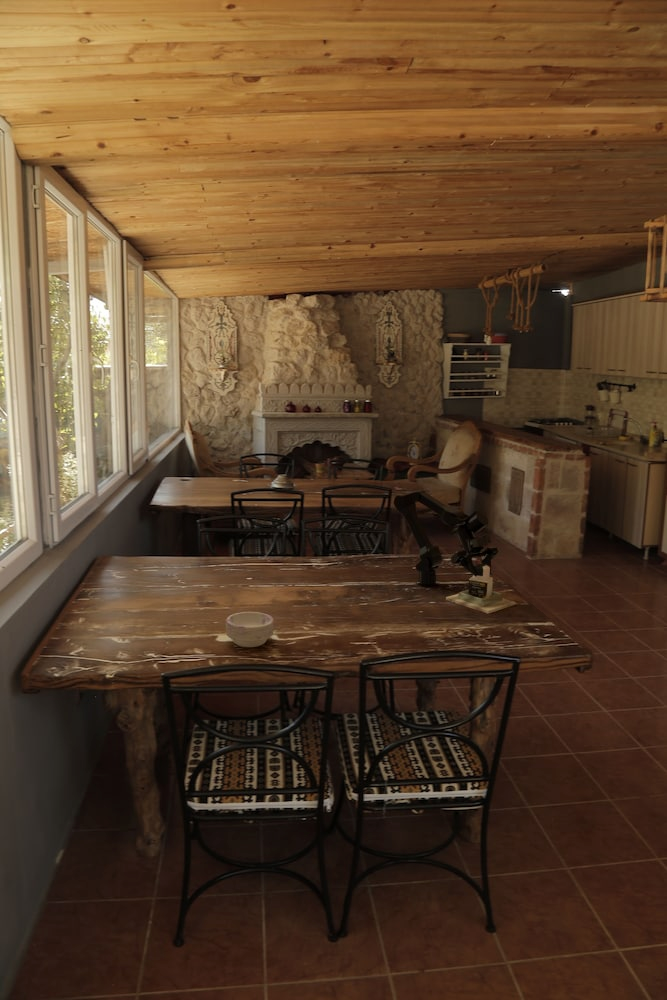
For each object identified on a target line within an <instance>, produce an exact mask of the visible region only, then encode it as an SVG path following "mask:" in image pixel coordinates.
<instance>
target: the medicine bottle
mask: <svg viewBox="0 0 667 1000" xmlns="http://www.w3.org/2000/svg"><path fill="white" fill-rule="evenodd" d="M474 567H475V569H476V572H477V576H474V575H473V574H472V577H471V576H470V578H469V579H468V589H467V590H468V595H471V596H474V597H477V598H481V599H485V598H488V597H490V596H491V595H492V591H493V583H494V582H493V577H492V576H490V575H491V574H490V567H489V566H487V565H484V564H482V563H478V564H474Z"/></svg>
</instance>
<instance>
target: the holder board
mask: <svg viewBox="0 0 667 1000" xmlns="http://www.w3.org/2000/svg"><path fill="white" fill-rule="evenodd" d="M468 590H469V589H466V590H462V591H459V592H458V593H457V594H453V595H449V596H446V597H445V601H449V602H452V603H454V602H455V603H454V604H457V605H460V606H464V607H467V608H470V609H473V610H476V611H479V612H482V613H485V614H491V613H495V612H497V611H500V610H503V609H506V608H510V607H512V606H515V605H516V601H513V600H509V599H506V598H504V596H503V595H504V594H503V593H502V592H497V591H493V590H492V595H491V596H490V597H488V598H485V599H481V598H477V597H474V596H471V595H468Z"/></svg>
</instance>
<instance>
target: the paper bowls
mask: <svg viewBox="0 0 667 1000" xmlns="http://www.w3.org/2000/svg"><path fill="white" fill-rule="evenodd" d="M274 621H275V620H274V617H273V616H272V615H270V614H266V613H264V612H260V611H259V612H258V611H241V612H235V613H233V614H231V615H228V616H227V618H226V620H225V635H226V636H227V637H228V638H230V639H231V640H232V642H233V644H236V645H237V646H238V647H242V648H255V647H256V648H257V647H260V646H263V645H264V644H265V643H266V642H267V640H268V639H271V638H272V636H274V631H275V630H274V629H275V626H274V624H275V622H274Z"/></svg>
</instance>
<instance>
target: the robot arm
mask: <svg viewBox="0 0 667 1000" xmlns="http://www.w3.org/2000/svg"><path fill="white" fill-rule="evenodd" d="M417 503H420V504H421V505H423V506H425V508H428V509H429V510H431V511H432V512H434V513H435V514H437V515H438V516H439V517H440V518H441V520H442V521H443V522H444V523H445V524H446V525H447V526H448V527H451V528H452V527H454V528H453V530H452V532H451V535H452V536H457V537H458V539H459V541H460V546H459V547H460V549H463V550H456V551H455V552H454V553H453V554H452V556H451V557H450V561H451V564H452V565H458V566H461V567H463V568H464V569H465V570H467V571H468V572H469V573H471V574H472V576H473V575H474V576H477V572H476V569H475V567H474V566H475V564H474V562H473V559H474V558H475V559H476V558H481V559H482V560H480V564H484V565H487V566H489V567H490V575H491V574H492V560H493V559H494V558H495V557H496V556H497V555H498V554H499V553H500V551H499V549H498V547H497V546H490V547H489V544H491V543H492V539H491V537H490V535H489V534H485V535H482V537H478V536H475V534H474V533H476V534H477V533H479V532H480V531H481V530H482V529H484V528H485V527H486V526H487V525H489V519H488V517H487V516H486V515H485V514H483V513H482V512H480V510H474V511H473V512H472V513H471V514H470V515H469V514H467V513H465V512H464V511H463V510H461V509H458V508H457V507H452V506H450V505H449V506H448V505H446V504H445V503H443V502H441V500H438V499H437V498H436V497H434V496H432V495H430V494H429V493H427V492H426V491H425V490H424V489H419V490H415V491H413V492H412V493H402V494H399V495H396V496H395V497H394V500H393V505H394V507H395V509H396V510H397V512H398V513H399V514H401V516H402V517H404V519H405V521H406V523H407V525H408V527H409V528H410V532H411V533H412V535H413V538H414V541H415V542H416V545H417V547H418V548H419V559H420V561H418V563H416V564H415V570H416V571H417V572H418V582H420V583H418V584H421V585H420V586H422V585H424V586H423V587H425V586H426V587H425V588H429V587H428V586H430V587H433V586H432V585H434V586H437V585H439V583H438V582H437V574H436V569H439V568H440V565H441V564H442V561H443V556H442V555H443V553H442V552H441V551H440V547H439V546H438V545H435V546H434V545H433V544H432V543H431V541H430V539H429V537H428V535H427V533H426V530H425V528H424V527H423V524H422V523H421V521H420V518H419V516H418V514H417ZM485 546H487V547H486V549H484V547H485ZM483 550H484V551H483ZM418 584H417V585H418ZM436 584H437V585H436Z"/></svg>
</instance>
